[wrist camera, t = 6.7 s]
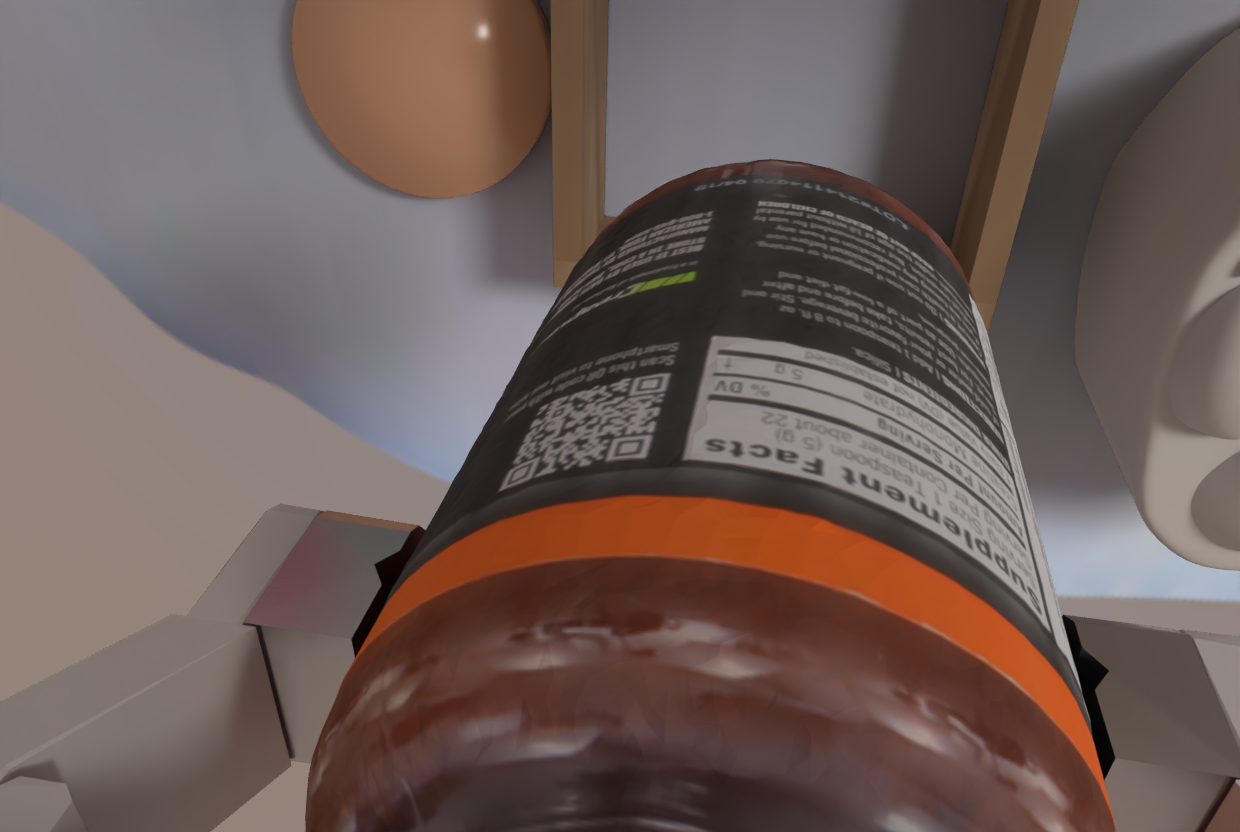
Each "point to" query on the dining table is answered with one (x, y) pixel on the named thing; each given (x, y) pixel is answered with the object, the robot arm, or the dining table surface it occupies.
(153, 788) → the robot arm
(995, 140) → the cold frame
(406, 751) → the supplement bottle
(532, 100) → the saucer
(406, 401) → the dining table surface
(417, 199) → the dining table surface
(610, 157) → the dining table surface
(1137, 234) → the lumpy-topped squat cylinder
